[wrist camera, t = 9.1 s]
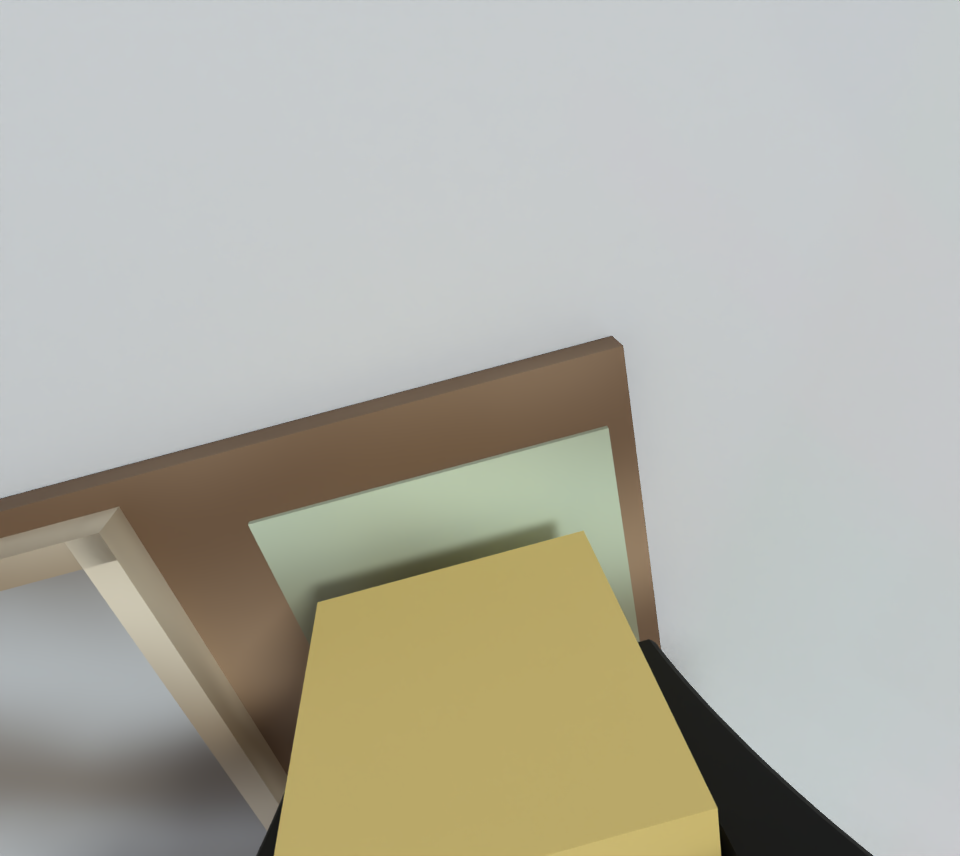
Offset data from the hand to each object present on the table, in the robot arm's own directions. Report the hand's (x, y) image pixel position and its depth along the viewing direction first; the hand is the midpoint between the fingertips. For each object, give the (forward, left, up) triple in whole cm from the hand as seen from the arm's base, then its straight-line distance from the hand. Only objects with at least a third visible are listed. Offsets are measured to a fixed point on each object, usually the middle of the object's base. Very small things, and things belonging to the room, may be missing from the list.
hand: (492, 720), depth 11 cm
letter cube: (0, 0, -1) cm, 1 cm away
